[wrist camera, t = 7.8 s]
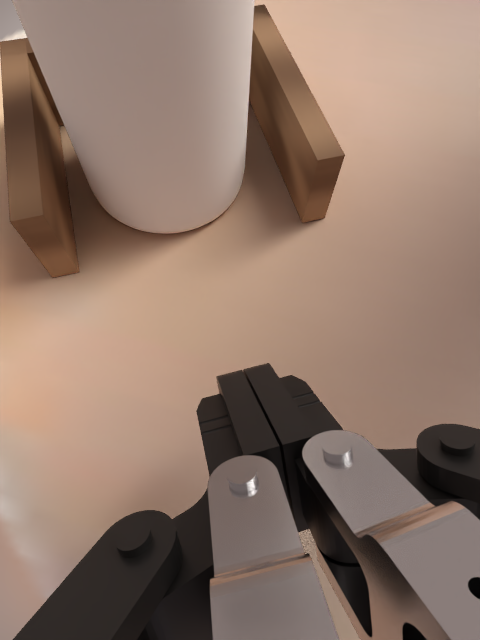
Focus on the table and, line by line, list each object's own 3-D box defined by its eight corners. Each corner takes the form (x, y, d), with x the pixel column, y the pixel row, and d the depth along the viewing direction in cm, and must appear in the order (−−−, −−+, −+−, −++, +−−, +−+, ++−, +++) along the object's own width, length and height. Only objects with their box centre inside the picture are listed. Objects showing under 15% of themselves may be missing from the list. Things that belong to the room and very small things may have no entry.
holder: (324, 218, 20) (344, 155, 17) (52, 277, 19) (9, 221, 15) (259, 77, 25) (264, 4, 21) (35, 114, 23) (-1, 41, 20)
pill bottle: (189, 266, 19) (88, -333, 6) (60, 194, 21) (-258, -401, 7) (273, 162, 22) (343, -395, 8) (155, 106, 24) (55, -433, 10)
